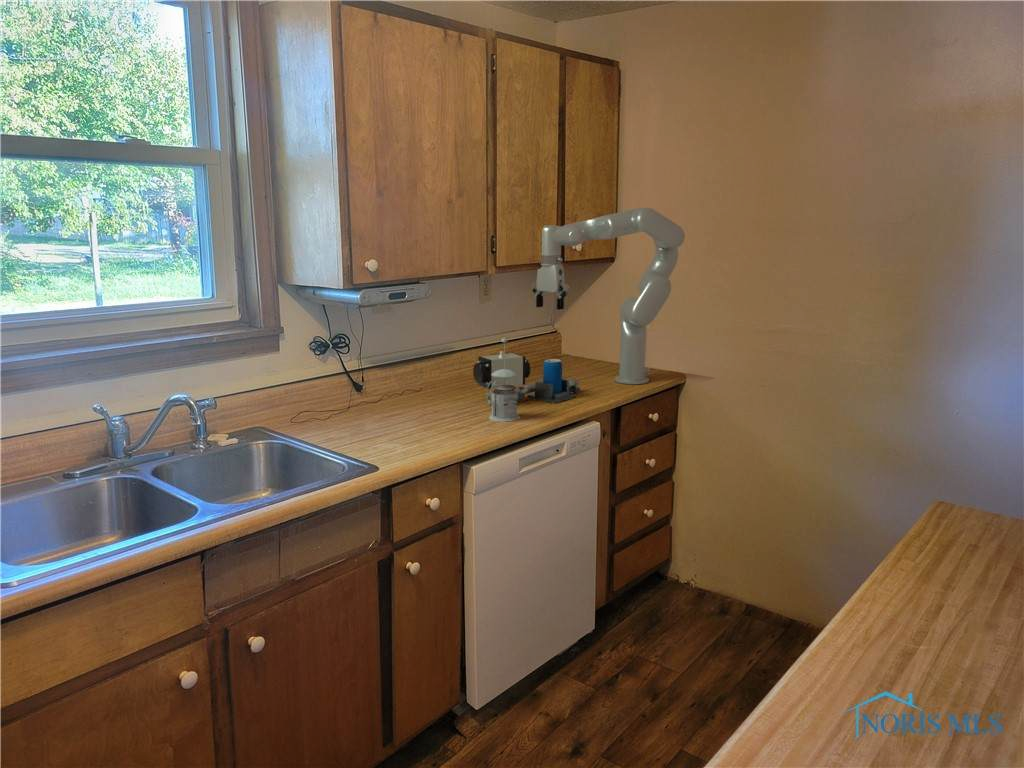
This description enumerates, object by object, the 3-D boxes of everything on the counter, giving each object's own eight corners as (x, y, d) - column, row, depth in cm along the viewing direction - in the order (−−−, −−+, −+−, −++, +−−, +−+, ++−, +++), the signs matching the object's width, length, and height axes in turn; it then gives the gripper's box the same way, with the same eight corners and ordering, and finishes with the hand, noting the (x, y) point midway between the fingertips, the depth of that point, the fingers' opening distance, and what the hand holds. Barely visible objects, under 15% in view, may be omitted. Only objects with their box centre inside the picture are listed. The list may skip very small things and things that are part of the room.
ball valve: (517, 397, 261) (518, 346, 257) (530, 403, 254) (531, 350, 250) (471, 404, 252) (470, 351, 248) (483, 409, 245) (482, 355, 241)
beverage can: (549, 391, 266) (549, 357, 263) (565, 394, 262) (565, 360, 259) (539, 395, 261) (539, 360, 258) (555, 397, 257) (555, 363, 254)
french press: (526, 417, 236) (527, 338, 230) (499, 424, 228) (499, 342, 222) (504, 411, 243) (504, 334, 237) (477, 418, 235) (477, 338, 229)
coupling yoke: (555, 387, 276) (555, 371, 275) (588, 394, 267) (588, 377, 265) (510, 399, 259) (510, 381, 258) (543, 406, 249) (543, 388, 248)
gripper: (575, 261, 270) (574, 309, 273) (538, 259, 281) (538, 305, 285) (562, 262, 264) (561, 311, 268) (525, 260, 276) (525, 307, 279)
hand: (549, 308), depth 276 cm, fingers open, 9 cm apart
